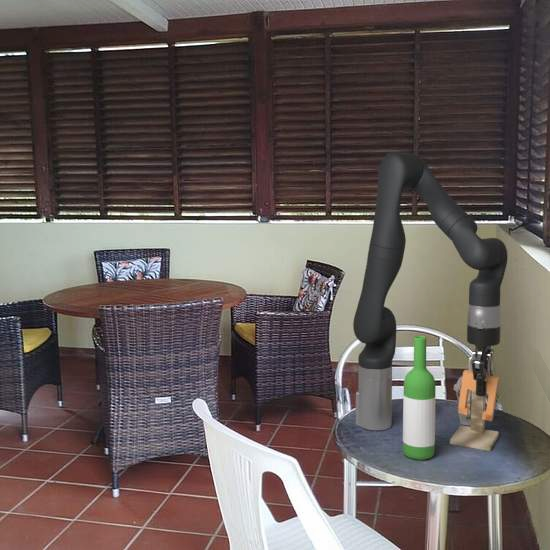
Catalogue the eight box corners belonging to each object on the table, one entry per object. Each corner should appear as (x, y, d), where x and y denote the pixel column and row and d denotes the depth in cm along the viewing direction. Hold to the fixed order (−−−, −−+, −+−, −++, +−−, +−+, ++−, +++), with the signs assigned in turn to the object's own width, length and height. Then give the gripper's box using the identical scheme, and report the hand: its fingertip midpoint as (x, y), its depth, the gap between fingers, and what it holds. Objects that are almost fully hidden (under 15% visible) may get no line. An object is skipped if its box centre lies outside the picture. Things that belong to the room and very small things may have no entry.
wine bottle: (396, 451, 167) (397, 335, 163) (421, 446, 170) (423, 332, 166) (415, 463, 160) (416, 342, 156) (441, 457, 163) (443, 338, 159)
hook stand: (447, 448, 169) (448, 371, 166) (460, 429, 181) (462, 358, 178) (487, 455, 164) (490, 377, 161) (498, 435, 176) (500, 362, 174)
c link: (457, 412, 161) (463, 371, 159) (459, 410, 163) (465, 369, 161) (491, 421, 158) (497, 379, 156) (492, 418, 159) (499, 377, 157)
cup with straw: (452, 416, 191) (454, 348, 188) (485, 419, 189) (487, 350, 186) (452, 427, 183) (454, 356, 180) (486, 429, 181) (489, 358, 178)
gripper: (474, 316, 164) (472, 384, 167) (460, 327, 152) (459, 400, 155) (505, 319, 161) (503, 388, 163) (494, 330, 149) (492, 405, 151)
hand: (481, 394), depth 159 cm, fingers closed on c link, 2 cm apart
